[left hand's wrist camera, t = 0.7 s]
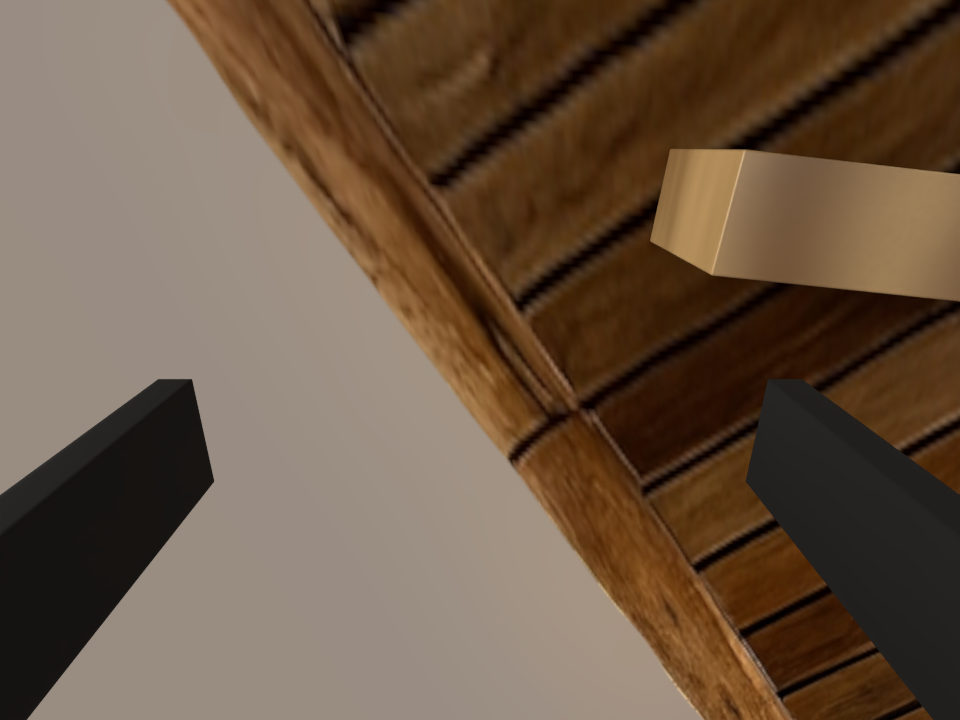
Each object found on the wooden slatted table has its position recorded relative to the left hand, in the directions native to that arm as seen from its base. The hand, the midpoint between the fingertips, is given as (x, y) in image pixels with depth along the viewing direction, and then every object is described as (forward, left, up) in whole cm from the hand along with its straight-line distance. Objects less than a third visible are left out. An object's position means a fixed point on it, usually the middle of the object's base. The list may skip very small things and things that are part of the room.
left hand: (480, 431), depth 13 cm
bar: (-19, +13, -22) cm, 31 cm away
